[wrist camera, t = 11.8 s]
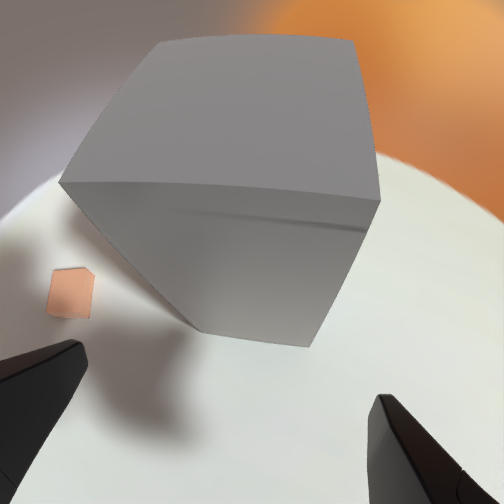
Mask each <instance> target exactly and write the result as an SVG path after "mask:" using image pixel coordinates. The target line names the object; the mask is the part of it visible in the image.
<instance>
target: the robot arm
mask: <svg viewBox="0 0 504 504" xmlns="http://www.w3.org/2000/svg"><path fill="white" fill-rule="evenodd" d="M87 367H88V360H87V356H86V353H85V349H84V345H83V344H82V342H80V341H77V340H74V339H69V340H66V341H63V342H60V343H57V344H54V345H50V346H47V347H44V348H41V349H38V350H34V351H31V352H28V353H25V354H21V355H18V356H15V357H11V358H8V359H5V360H1V361H0V504H10V502H11V500H12V498H13V496H14V494H15V492H16V491H17V488H18V487H19V485H20V483H21V481H22V479H23V478H24V476H25V474H26V472H27V471H28V469H29V467H30V466H31V464H32V462H33V460H34V459H35V457H36V455H37V454H38V452H39V450H40V449H41V447H42V445H43V444H44V442H45V440H46V439H47V437H48V436H49V434H50V432H51V431H52V429H53V428H54V426H55V424H56V423H57V421H58V420H59V418H60V417H61V415H62V413H63V412H64V410H65V409H66V407H67V406H68V404H69V402H70V400H71V399H72V397H73V395H74V393H75V391H76V389H77V387H78V385H79V383H80V381H81V379H82V377H83V376H84V374H85V372H86V370H87ZM367 474H368V487H369V502H370V504H500V503H498V502H497V501H496V500H495V499H494V498H492V497H491V496H490V495H489V494H488V493H487V492H486V491H484V490H483V489H482V488H481V487H480V486H479V485H478V484H477V483H476V482H475V481H474V480H473V479H472V478H471V477H470V476H469V475H468V474H467V473H466V472H465V471H464V470H462V468H461V466H460V465H459V464H458V463H457V462H456V461H455V460H454V459H453V458H452V457H451V456H450V455H449V454H448V453H447V452H446V451H445V450H444V448H443V447H442V446H441V445H440V444H439V443H438V442H437V441H436V440H435V439H434V438H433V437H432V436H431V435H430V434H429V433H428V432H427V431H426V430H425V428H424V427H423V426H422V425H421V424H420V423H419V422H418V421H417V420H416V419H415V418H414V417H413V416H412V415H411V414H410V413H409V412H408V411H407V410H406V408H405V407H404V406H403V405H402V404H401V403H400V402H399V401H398V400H397V399H396V398H395V397H394V396H393V395H391V394H379V395H377V397H376V399H375V401H374V403H373V406H372V408H371V411H370V413H369V416H368V446H367Z"/></svg>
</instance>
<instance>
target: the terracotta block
mask: <svg viewBox="0 0 504 504" xmlns="http://www.w3.org/2000/svg"><path fill="white" fill-rule="evenodd" d="M94 278H95V275H94V274H92V273H91V272H90V271H89V270H87V269H86V268H82V269H70V270H58V271H53V275H52V280H51V286H50V291H49V297H48V303H47V309H46V312H47V313H49V314H50V315H52V316H54V317H57V318H89V317H90V308H91V300H92V292H93V285H94Z"/></svg>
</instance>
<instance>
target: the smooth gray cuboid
mask: <svg viewBox="0 0 504 504" xmlns="http://www.w3.org/2000/svg"><path fill="white" fill-rule="evenodd" d="M58 183H59V184H60V185H61V187H62V188H63V189H64V190H65V191H66V193H67V194H68V195H69V196H70V198H71V199H72V200H73V201H74V202H75V203H76V205H77V206H78V207H79V208H80V209H81V210H82V212H83V213H84V214H85V215H86V216H87V217H88V219H89V220H90V221H91V222H92V223H93V224H94V225H95V226H96V228H97V229H98V230H99V231H100V232H101V233H102V234H103V235H104V236H105V238H106V239H107V240H108V241H109V242H110V243H111V244H112V245H113V246H114V247H115V248H116V249H117V251H118V252H119V253H120V254H121V255H122V256H123V257H124V258H125V259H126V260H127V261H128V262H129V263H130V264H131V265H132V266H133V267H134V268H135V269H136V270H137V271H138V272H139V273H140V275H141V276H142V277H143V278H144V279H145V280H146V281H147V282H148V283H149V284H150V285H151V286H152V287H153V288H154V289H155V290H156V291H158V292H159V293H160V294H161V295H162V296H163V297H164V298H165V299H166V300H167V301H168V302H169V303H170V304H171V305H172V306H173V307H174V308H175V309H176V310H177V311H178V312H179V313H180V314H181V315H183V316H184V317H185V318H186V319H187V320H188V321H189V322H190V323H191V324H192V325H193V326H194V327H196V328H197V329H198V330H199V331H200V332H202V333H208V334H214V335H220V336H226V337H232V338H239V339H246V340H253V341H260V342H267V343H275V344H283V345H292V346H301V347H310V345H311V343H312V341H313V339H314V338H315V336H316V334H317V332H318V330H319V329H320V327H321V325H322V323H323V321H324V319H325V317H326V316H327V314H328V312H329V310H330V308H331V306H332V304H333V302H334V300H335V298H336V296H337V294H338V292H339V290H340V288H341V286H342V284H343V282H344V280H345V278H346V276H347V274H348V272H349V270H350V268H351V266H352V264H353V262H354V260H355V258H356V255H357V253H358V251H359V249H360V247H361V245H362V242H363V240H364V238H365V236H366V234H367V231H368V229H369V227H370V225H371V222H372V220H373V218H374V215H375V213H376V211H377V208H378V206H379V204H380V201H381V198H380V187H379V178H378V169H377V161H376V153H375V146H374V139H373V133H372V127H371V121H370V116H369V109H368V104H367V99H366V94H365V89H364V84H363V79H362V75H361V70H360V66H359V62H358V58H357V54H356V50H355V46H354V42H353V41H351V40H343V39H335V38H326V37H315V36H301V35H278V34H244V35H221V36H207V37H196V38H187V39H179V40H172V41H164V42H159V43H158V44H157V45H156V46H155V47H154V48H153V50H151V52H150V53H149V54H148V55H147V56H146V57H145V59H144V60H143V61H142V62H141V63H140V64H139V65H138V67H137V68H136V69H135V70H134V71H133V73H132V74H131V75H130V76H129V77H128V79H127V80H126V81H125V82H124V84H123V85H122V86H121V87H120V89H119V90H118V91H117V93H116V94H115V95H114V97H113V98H112V99H111V101H110V102H109V103H108V105H107V106H106V107H105V109H104V110H103V112H102V113H101V114H100V116H99V117H98V119H97V120H96V122H95V123H94V125H93V126H92V127H91V129H90V130H89V132H88V134H87V135H86V137H85V138H84V140H83V141H82V143H81V145H80V146H79V148H78V149H77V151H76V152H75V154H74V156H73V157H72V159H71V161H70V162H69V164H68V166H67V168H66V169H65V171H64V173H63V175H62V176H61V178H60V180H59V182H58Z"/></svg>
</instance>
